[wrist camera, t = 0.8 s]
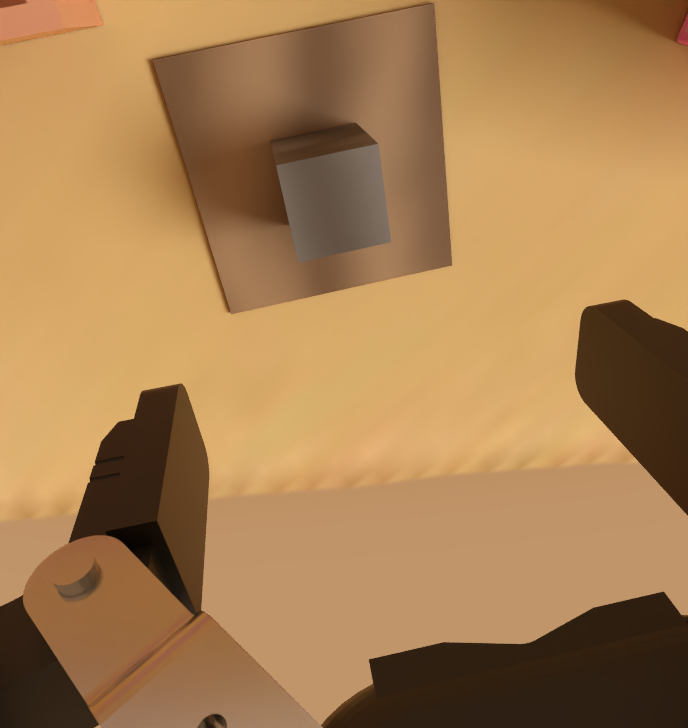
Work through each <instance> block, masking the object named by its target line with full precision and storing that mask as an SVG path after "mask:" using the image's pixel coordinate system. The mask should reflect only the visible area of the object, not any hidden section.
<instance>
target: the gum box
mask: <svg viewBox="0 0 688 728" xmlns="http://www.w3.org/2000/svg"><path fill="white" fill-rule="evenodd" d="M677 42H678V43H680V44H684V45H687V46H688V14H687V16H686V19H685V21H684V23H683V25H682V28H681V30H680V32H679V35H678V37H677Z"/></svg>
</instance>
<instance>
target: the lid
mask: <svg viewBox="0 0 688 728" xmlns="http://www.w3.org/2000/svg"><path fill="white" fill-rule="evenodd" d="M153 63H154V66H155V69H156V73H157V76H158V79H159V82H160V86H161V89H162V92H163V95H164V98H165V102H166V105H167V108H168V111H169V115H170V118H171V121H172V124H173V128H174V131H175V134H176V137H177V140H178V144H179V147H180V150H181V153H182V157H183V160H184V163H185V166H186V169H187V173H188V176H189V179H190V182H191V186H192V189H193V192H194V195H195V198H196V202H197V205H198V208H199V211H200V215H201V218H202V221H203V224H204V228H205V231H206V234H207V237H208V240H209V244H210V247H211V250H212V253H213V257H214V260H215V263H216V266H217V269H218V273H219V276H220V279H221V282H222V286H223V289H224V292H225V295H226V299H227V302H228V305H229V308H230V311H231V314H235V313H239V312H244V311H248V310H253V309H257V308H262V307H266V306H271V305H275V304H280V303H284V302H289V301H293V300H298V299H302V298H307V297H311V296H316V295H320V294H325V293H329V292H334V291H338V290H343V289H347V288H352V287H356V286H361V285H365V284H370V283H374V282H379V281H383V280H388V279H392V278H397V277H401V276H406V275H410V274H415V273H420V272H424V271H429V270H433V269H438V268H442V267H447V266H451V265H452V257H451V242H450V228H449V213H448V199H447V184H446V170H445V155H444V140H443V126H442V111H441V97H440V82H439V68H438V53H437V39H436V24H435V10H434V3H432V4H427V5H422V6H417V7H412V8H407V9H402V10H397V11H392V12H387V13H382V14H377V15H372V16H367V17H362V18H357V19H352V20H348V21H343V22H338V23H333V24H328V25H323V26H318V27H313V28H308V29H303V30H298V31H293V32H288V33H283V34H278V35H273V36H268V37H263V38H258V39H253V40H248V41H243V42H238V43H233V44H228V45H223V46H219V47H214V48H209V49H204V50H199V51H194V52H189V53H184V54H179V55H174V56H169V57H164V58H159V59H154V60H153Z"/></svg>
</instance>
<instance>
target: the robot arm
mask: <svg viewBox="0 0 688 728" xmlns="http://www.w3.org/2000/svg"><path fill="white" fill-rule="evenodd" d="M575 379H576V385H577V389H578V391H579V394H580V396H581V398H582V399H583V401H584V402H585V403H586V404H587V406H588V407H589V408H590V409H591V410H592V411H593V412H594V413H595V414H596V415H597V416H598V418H599V419H600V420H601V421H602V422H603V423H604V424H605V425H606V426H607V427H608V429H609V430H610V431H611V432H612V433H613V434H614V435H615V436H616V437H617V438H618V440H619V441H620V442H621V443H622V444H623V445H624V446H625V447H626V448H627V449H628V450H629V452H630V453H631V454H632V455H633V456H634V457H635V458H636V459H637V460H638V461H639V463H640V464H641V465H642V466H643V467H644V468H645V469H646V470H647V471H648V472H649V474H650V475H651V476H652V477H653V478H654V479H655V480H656V481H657V482H658V483H659V485H660V486H661V487H662V488H663V489H664V490H665V491H666V492H667V493H668V494H669V495H670V496H671V497H672V499H673V500H674V501H675V502H676V503H677V504H678V505H679V506H680V508H681V509H682V510H683V511H684V512H685V513H686V514H687V515H688V331H686V330H685V329H683V328H681V327H678V326H676V325H673V324H670V323H667V322H665V321H662V320H659V319H656V318H653V317H651V316H650V315H648V314H647V313H646V312H644V311H643V310H641V309H640V308H639V307H637V306H636V305H634V304H633V303H632V302H630V301H628V300H619V301H614V302H609V303H603V304H598V305H593V306H588V307H586V308H585V309H584V311H583V313H582V316H581V321H580V331H579V340H578V350H577V359H576V369H575ZM95 464H96V465H95V466H93V469H92V472H91V475H90V478H89V479H90V483H88V485H87V488H86V491H85V494H84V497H83V500H82V503H81V506H80V509H79V512H78V516H77V519H76V522H75V525H74V528H73V531H72V534H71V537H70V540H69V543H68V544H66V545H64V546H63V547H61V548H59V549H58V550H56V551H55V552H53V553H52V554H51V555H49V556H48V557H47V558H46V559H45V560H44V561H43V562H42V563H41V564H40V565H39V566H38V567H37V568H36V569H35V571H34V572H33V574H32V575H31V576H30V578H29V580H28V582H27V584H26V586H25V589H24V594H23V595H22V596H21V597H19V598H17V599H15V600H13V601H11V602H9V603H7V604H5V605H3V606H0V728H94V727H96V726H98V725H100V726H101V728H688V615H681V614H680V613H679V611H678V610H677V609H676V607H675V606H674V605H673V604H672V602H671V601H670V599H669V598H668V597H667V596H666V594H665V593H664V592H660V593H656V594H651V595H647V596H643V597H639V598H634V599H630V600H626V601H621V602H617V603H613V604H608V605H604V606H599V607H595V608H593V609H591V610H589V611H587V612H585V613H583V614H582V615H580V616H578V617H576V618H574V619H573V620H571V621H569V622H567V623H565V624H564V625H562V626H560V627H558V628H556V629H555V630H553V631H551V632H549V633H548V634H546V635H544V636H542V637H540V638H539V639H537V640H535V641H533V642H531V643H526V644H491V643H490V644H489V643H446V642H443V643H439V644H435V645H430V646H426V647H422V648H417V649H413V650H408V651H404V652H400V653H396V654H391V655H387V656H382V657H378V658H374V659H369V663H370V668H371V674H372V679H373V684H372V685H370V686H368V687H367V688H365V689H363V690H362V691H360V692H358V693H356V694H355V695H354V696H352V697H351V698H350V699H348V700H347V701H345V702H344V703H343V704H342V705H341V706H339V707H338V708H337V709H336V710H335V711H334V712H333V713H332V714H331V715H330V716H329V717H328V718H327V719H326V720H325V721H324V723H323V724H322V725H320V724H319V723H318V722H317V721H316V720H315V719H314V718H313V717H312V716H311V715H310V714H309V713H308V712H307V711H306V710H305V709H304V708H303V707H302V706H301V705H300V704H299V703H298V702H297V701H296V700H295V699H294V698H293V697H292V696H291V695H290V694H289V693H288V692H287V691H286V690H285V689H284V688H283V687H282V686H281V685H279V684H278V682H277V681H276V680H274V678H273V677H272V676H271V675H270V674H269V673H268V672H267V671H266V670H264V668H263V667H261V665H259V663H258V662H256V661H255V659H253V658H252V656H251V655H250V654H249V653H248V652H247V651H245V650H244V649H243V648H242V647H241V646H240V645H239V644H238V643H237V642H236V641H235V640H234V639H233V638H232V637H231V636H230V635H229V634H228V633H227V632H226V631H225V630H224V629H223V628H222V627H221V626H220V625H219V624H218V623H217V622H216V621H215V620H214V619H213V618H212V617H211V616H210V615H208V614H207V613H205V612H203V611H201V602H202V585H203V569H204V552H205V537H206V536H205V535H206V520H207V505H208V489H209V465H208V458H207V453H206V449H205V445H204V442H203V439H202V436H201V433H200V430H199V427H198V424H197V421H196V418H195V415H194V412H193V409H192V406H191V403H190V400H189V397H188V394H187V391H186V389H185V387H184V386H183V384H176V385H171V386H165V387H160V388H155V389H150V390H145V391H142V392H141V394H140V398H139V402H138V406H137V409H136V413H135V417H134V419H131V420H126V421H121V422H118V423H117V424H116V425H115V426H114V428H113V429H112V430H111V431H110V432H109V433H108V435H107V436H106V437H105V438H104V439H103V440H102V441H101V444H100V448H99V451H98V454H97V457H96V460H95Z"/></svg>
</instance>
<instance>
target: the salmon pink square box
mask: <svg viewBox="0 0 688 728" xmlns="http://www.w3.org/2000/svg"><path fill="white" fill-rule="evenodd" d="M102 25H103V22H102V19H101V16H100V14H99V11H98V8H97V5H96V2H95V0H0V45H5V44H10V43H15V42H20V41H25V40H30V39H36V38H41V37H46V36H51V35H56V34H61V33H66V32H71V31H76V30H81V29H86V28H91V27H97V26H102Z"/></svg>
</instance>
